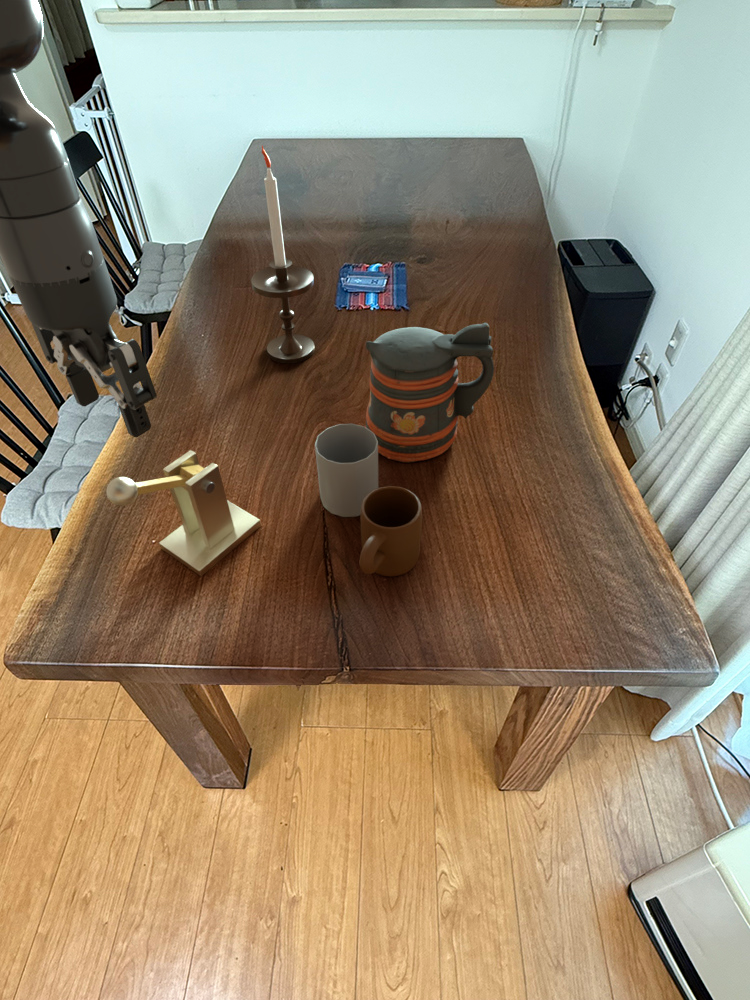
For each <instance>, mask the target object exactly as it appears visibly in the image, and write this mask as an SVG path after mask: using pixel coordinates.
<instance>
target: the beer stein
mask: <svg viewBox="0 0 750 1000" xmlns="http://www.w3.org/2000/svg"><path fill="white" fill-rule="evenodd" d="M491 343H492V335H490V326H489V324H488V323H487V322H484V323H477V324H471V325H467V326H465V327H463V328H462V329H460V330H459V331H457V332H456V333H455V334H451V333H448V334H444V333H442V332H439V331H437V330H435V329H431V328H427V327H420V326H410V327H399V328H396V329H392V330H389V331H387V332H385V333H382V334H381V335H379V336H378V337H377V338H376V339H375V340H374V341H370V340H368V341H366V342H365V348H366V350H367V351H368V352H369V355H370V357H371V359H370V361H371V363H370V371H369V372H370V373H369V380H368V382H369V383H368V385H369V389H370V393H369V401H368V404H367V407H366V413H365V426H364V427H366V428H367V429H369V430H370V431H372V432H373V433H374V434H375V436H376V438H377V441H378V454H380V455H382V457H384V458H386V459H388V460H393V461H395V462H400V463H414V462H420V461H426V460H430V459H432V458H433V459H434V458H436V457H439V456H440V455H442V454H443V453H445V452H446V451H447V450H449V448H451V447H452V445H453V443H454V442H455V440H456V439H457V435H458V423H459V416H460V417H464V418H465V419H467V418H468V417H469V416H471V414H473V413H474V410H475V409H474V405H475V404H476V403H477V402H478V401H479V400H480V399H481V397H482V396H483V395H484V394H485V392H486V391H487V390H488V388H490V385H491V383H492V380H493V377H494V373H495V366H494V365H495V364H494V360H493V356H494V355H493V354H494V348H493V347H492V346H491ZM460 357H475V358H477V359H478V360H479V361H480V362H481V365H482V370H481V373H480V375H479V376H478V377H477V378H476V379H475V380H472V381H469V382H463V383H462V382H461V383H460V382H459V370H458V358H460Z"/></svg>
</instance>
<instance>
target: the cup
mask: <svg viewBox="0 0 750 1000" xmlns="http://www.w3.org/2000/svg"><path fill="white" fill-rule="evenodd" d="M314 451H315V458H316V459H315V460H316V461H315V462H316V468H317V469H316V470H317V479H318V487H319V488H318V489H319V498H320V501H321V505H322V507H323V508H325V510H327V512H329V513H330V514H331V515H336V516H339V517H342V518H355V517H359V516H361V505H362V502H363V500H364V498H365V497H366V496H367V495H368V494H369V493H370V492H371V491H373V490H375V489H377V488H379V453H378V441H377V438H376V436H375V434H374V433H373V432H372V431H370V430H369V429H367V428H366V427H365V426H363V425H360V424H356V423H339V424H336V425H332V426H330V427H326V428H325V429H324V430H323V431H322V432H321V433H319V434H318V435H317V436H316V440H315V442H314Z"/></svg>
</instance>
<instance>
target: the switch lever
mask: <svg viewBox="0 0 750 1000" xmlns="http://www.w3.org/2000/svg"><path fill="white" fill-rule="evenodd" d="M205 468H206V467H203V466H202V465H201V464H199V465H193V466H187V467H181V469H180V475H177V476H171V477H166V476H165V477H160V478H154V479H150V480H143V481H137V482H135V481H134V480H133V479H132V478H130V477H127V476H117V477H115V478H113V479H112V480H111V481H109V483H108V484H107V486H106V497H107V498H108V501H110V502H111V503H112V504H113V505H116V506H118V507H126V506H129V505H131V504H133V503H134V502H135V501H136V500H137V498H138V496H140V495H145V494H150V493H154V492H155V493H156V492H160V491H165V490H170V488H176V487H182V488H184V489H185V490H187V487H186V484H185V482H187V481H188V480H189V479H191V478H192V477H194V476H195V475H196V474H198V473H199V472H200V471H202V470H203V469H205ZM187 491H188V490H187Z"/></svg>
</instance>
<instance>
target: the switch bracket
mask: <svg viewBox="0 0 750 1000" xmlns="http://www.w3.org/2000/svg"><path fill="white" fill-rule="evenodd" d="M193 465H200V462H199V458H198V455H197V453H196V452H195V451H194V450H192V449H190V450H188V451H187V452H186V453H184V454H183V455H181V456H180V457H178V458H176V459H175V460H173V462H171V463H170V464H168V465H167V466H165V467H164V468H163V469H162V471H163V475H164V476H165V478H166V477H171V476H177V475H180V469H181V467H187V466H193ZM204 468H205V469H203V470H202V471H200V472H199V473H198V474H196V475H195V476H194V477H192V478H191V479H189V480H188V481H187V482H185V484H186V487H187V490H188V491H187V490H185V489H184V488H182V487H176V488H170V489H169V490H170V493H171V497H172V499H173V502H174V505H175V507H176V511H177V513H178V517H179V519H180V521H181V525H180V526H178V527H177V528H176V529H175V530H173V531H172V532H171V533H169V534H168V535H167V536H166V537H164V538H163V539H162V540H161V541H159V542H158V546H159V547H160V549H161V550H162V551H164V553H167V554H168V555H169V556H171V557H172V558H173V559H175V560H176V561H178V562H180V563H181V565H184V566H185V567H187V568H188V569H189V570H191V571H192V572H194V573H195V574H197V575H198V576H199V577H202V576H204V574H206V573H207V572H209V571H210V570H211V569H212V568H213V567H214V566H216V565H217V564H218V563H219V562H220V561H222V560H223V559H224V558H225V557H227V556H228V554H230V553H231V552H232V551H233V550H235V549H236V548H237V547H238V546H240V544H241V543H243V542H244V541H245V540H246V539H247V538H249V537H250V536H252V534H254V532H255V531H257V530H258V529H259V528H260V527H262V523H261V519H259V518H258V517H256V516H254V515H253V514H251V513H250V512H248V511H246V510H244V509H242V508H241V507H239V506H237V505H236V504H234V503H232V502H231V501H229V500H228V498H227V494H226V490H225V487H224V483H223V479H222V474H221V472H220V467H219V465H218V464H216V463H214V462H211V463H210V464H209V465H207V466H206V467H204Z"/></svg>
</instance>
